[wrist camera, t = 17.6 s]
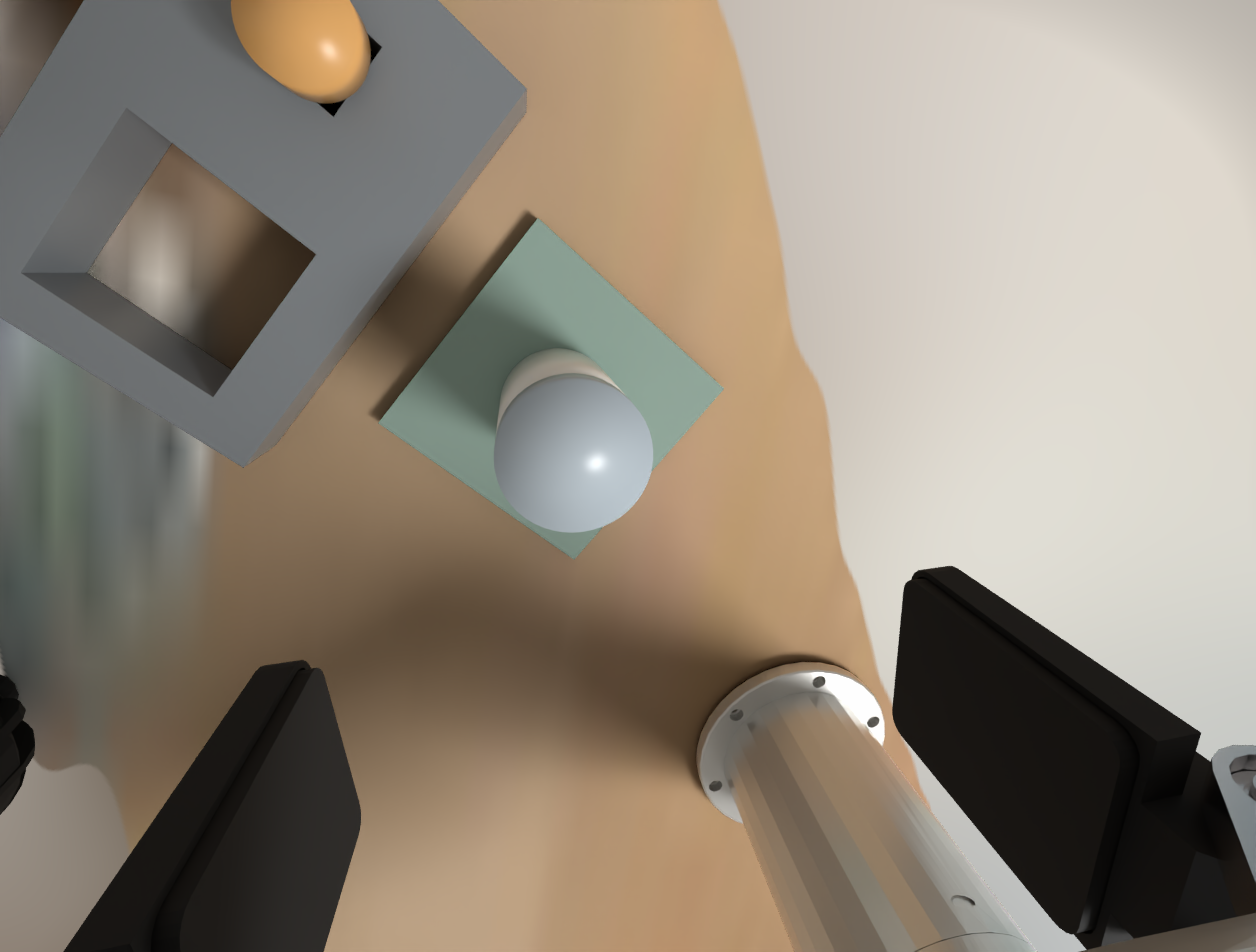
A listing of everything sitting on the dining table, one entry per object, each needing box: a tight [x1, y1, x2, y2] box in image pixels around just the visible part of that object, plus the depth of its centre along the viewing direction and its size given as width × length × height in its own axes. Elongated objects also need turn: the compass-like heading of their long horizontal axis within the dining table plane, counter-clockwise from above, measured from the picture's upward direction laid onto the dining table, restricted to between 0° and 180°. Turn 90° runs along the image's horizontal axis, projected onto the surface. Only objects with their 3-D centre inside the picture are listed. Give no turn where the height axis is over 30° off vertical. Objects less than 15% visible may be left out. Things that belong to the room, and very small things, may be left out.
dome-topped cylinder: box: [494, 348, 653, 533], centre depth 25 cm, size 6×6×9 cm
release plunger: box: [231, 0, 372, 106], centre depth 21 cm, size 4×4×6 cm
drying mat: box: [379, 219, 724, 559], centre depth 30 cm, size 12×12×1 cm
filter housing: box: [0, 0, 527, 468], centre depth 23 cm, size 12×19×4 cm, turn 139°
